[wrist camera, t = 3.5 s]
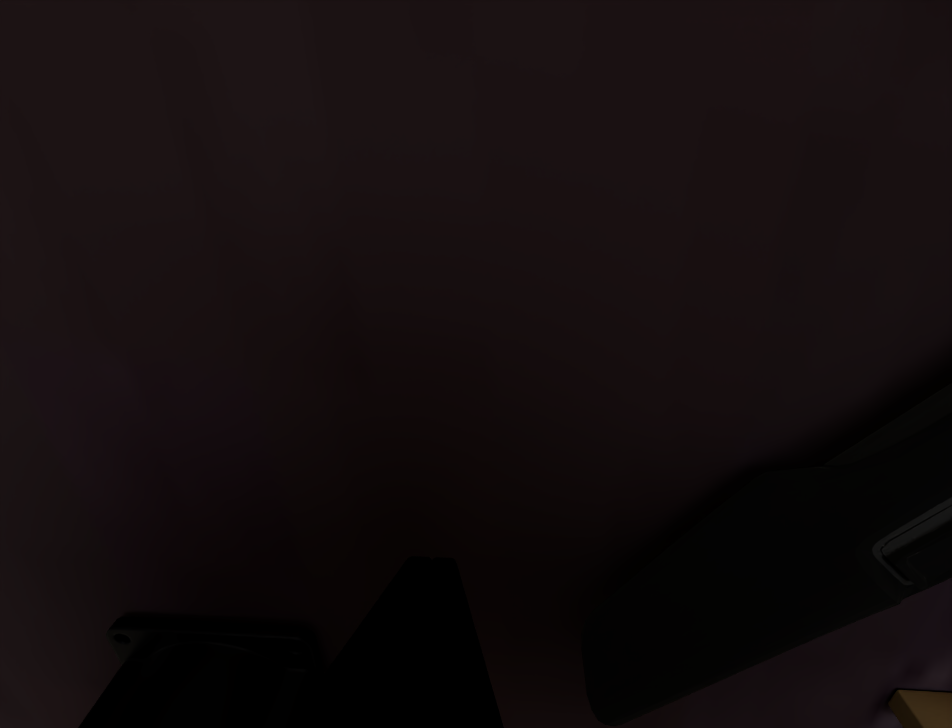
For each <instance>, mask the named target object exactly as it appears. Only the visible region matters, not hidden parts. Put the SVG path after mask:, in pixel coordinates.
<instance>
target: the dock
mask: <svg viewBox="0 0 952 728" xmlns="http://www.w3.org/2000/svg"><path fill="white" fill-rule="evenodd" d="M888 705H889V707H890V708H891V710H892V711H893V713H894V714H895V716H896V717H897V719H898V720H899V722H900V723H901V725H902V726H903V728H952V693H947V692H930V691H913V690H897V691H896V692H895V693H894V695H893V696H892V698H891V699H890V700H889V702H888Z"/></svg>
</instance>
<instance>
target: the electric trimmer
mask: <svg viewBox="0 0 952 728" xmlns="http://www.w3.org/2000/svg"><path fill="white" fill-rule="evenodd" d="M822 466H823V467H822ZM822 466H820V467H808V468H798V469H788V470H777V471H767V472H765V473H763V474H761V475H759V476H757V477H756V478H754V479H753V480H752V481H751V482H749V483H748V484H747V485H746V486H744V487H743V488H742V489H741V490H739V491H738V492H737V493H736V494H734V495H733V496H732V497H731V498H729V499H728V500H727V501H725V502H724V503H723V504H722V505H720V506H719V507H718V508H717V509H715V510H714V511H713V512H712V513H710V514H709V515H708V516H707V517H705V518H704V519H703V520H701V521H700V522H699V523H698V524H696V525H695V526H694V527H693V528H691V529H690V530H689V531H688V532H687V533H685V534H684V535H683V536H682V537H681V538H679V539H678V540H677V541H676V542H675V543H673V544H672V545H671V546H670V547H669V548H667V549H666V550H665V551H664V552H663V553H661V554H660V555H659V556H658V557H657V558H655V559H654V560H653V561H652V562H651V563H649V564H648V565H647V566H646V567H645V568H643V569H642V570H641V571H640V572H639V573H637V574H636V575H635V576H634V577H633V578H631V579H630V580H629V581H628V582H627V583H625V584H624V585H623V586H622V587H621V588H619V589H618V590H617V591H616V592H615V593H613V594H612V595H611V596H610V597H609V598H607V599H606V600H605V601H604V602H603V603H602V604H600V605H599V606H598V607H597V608H596V609H594V610H593V611H592V612H591V614H590V615H589V616H588V617H587V619H586V620H585V623H584V627H583V630H582V634H581V637H582V656H583V665H584V673H585V682H586V691H587V696H588V700H589V703H590V706H591V709H592V711H593V713H594V714H595V716H596V718H597V719H598V721H600V722H602V723H603V724H605V725H610V726H616V725H621V724H624V723H626V722H628V721H630V720H633V719H635V718H637V717H639V716H642V715H644V714H646V713H648V712H651V711H653V710H655V709H657V708H660V707H662V706H664V705H666V704H669V703H671V702H673V701H675V700H678V699H680V698H682V697H684V696H687V695H689V694H691V693H693V692H696V691H698V690H700V689H702V688H705V687H707V686H709V685H711V684H714V683H716V682H718V681H720V680H723V679H725V678H727V677H729V676H732V675H734V674H736V673H738V672H741V671H743V670H745V669H747V668H750V667H752V666H754V665H756V664H759V663H761V662H763V661H765V660H768V659H770V658H772V657H775V656H777V655H779V654H781V653H784V652H786V651H788V650H790V649H793V648H795V647H797V646H799V645H802V644H804V643H806V642H808V641H811V640H813V639H815V638H817V637H820V636H822V635H825V634H827V633H829V632H832V631H834V630H837V629H839V628H841V627H844V626H846V625H848V624H851V623H853V622H856V621H858V620H860V619H863V618H865V617H868V616H870V615H872V614H875V613H878V612H880V611H883V610H885V609H888V608H891V607H893V606H896V605H898V604H900V602H901V601H902V600H903V599H904V598H906V597H909V596H911V595H913V594H916V593H918V592H920V591H923V590H925V589H928V588H930V587H932V586H934V585H936V584H939V583H941V582H943V581H945V580H948V579H950V578H952V383H951V384H949V385H948V386H946V387H944V388H943V389H941V390H940V391H938V392H937V393H935V394H933V395H932V396H930V397H929V398H927V399H926V400H924V401H922V402H921V403H919V404H918V405H916V406H915V407H913V408H911V409H910V410H908V411H907V412H905V413H904V414H902V415H901V416H899V417H897V418H896V419H894V420H893V421H891V422H890V423H888V424H886V425H885V426H883V427H882V428H880V429H879V430H877V431H875V432H874V433H872V434H871V435H869V436H868V437H866V438H864V439H863V440H861V441H860V442H858V443H857V444H855V445H853V446H852V447H850V448H849V449H847V450H846V451H844V452H843V453H841V454H839V455H838V456H836V457H835V458H833V459H832V460H830V461H828V462H827V463H825V464H824V465H822Z"/></svg>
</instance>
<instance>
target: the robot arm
mask: <svg viewBox="0 0 952 728" xmlns="http://www.w3.org/2000/svg"><path fill="white" fill-rule="evenodd" d="M106 637H107V639H108V641H109V643H110V645H111V646H112V648H113V650H114V652H115V654H116V655H117V657H118V659H119V661H120V663H121V664H122V666H121V667H120V669H119V670H118V672H117V673H116V675H115V676H114V677H113V679H112V680H111V682H110V683H109V685H108V686H107V687H106V689H105V690H104V692H103V693H102V695H101V696H100V697H99V699H98V700H97V702H96V703H95V705H94V706H93V707H92V709H91V710H90V712H89V713H88V714H87V716H86V717H85V719H84V720H83V722H82V723H81V724H80V726H79V727H78V728H504V727H503V724H502V720H501V717H500V713H499V710H498V706H497V703H496V699H495V696H494V692H493V689H492V685H491V682H490V678H489V675H488V671H487V668H486V664H485V661H484V657H483V654H482V650H481V647H480V643H479V640H478V636H477V633H476V629H475V626H474V622H473V619H472V615H471V612H470V608H469V605H468V601H467V598H466V594H465V591H464V587H463V584H462V580H461V577H460V573H459V570H458V566H457V563H456V561H455V559H453V558H442V557H436V558H434V559H433V560H432V559H431V558H430V557H421V556H411V557H409V558H408V559H407V560H406V561H405V563H404V564H403V565H402V567H401V568H400V570H399V571H398V572H397V574H396V575H395V576H394V578H393V579H392V581H391V582H390V583H389V585H388V586H387V588H386V589H385V590H384V592H383V593H382V595H381V596H380V597H379V599H378V600H377V602H376V603H375V604H374V606H373V607H372V608H371V610H370V611H369V613H368V614H367V615H366V617H365V618H364V620H363V621H362V622H361V624H360V625H359V627H358V628H357V629H356V631H355V632H354V634H353V635H352V636H351V638H350V639H349V640H348V642H347V643H346V645H345V646H344V647H343V649H342V650H341V652H340V653H339V654H338V656H337V657H336V659H335V660H334V661H333V663H332V664H331V665H330V667H329V668H328V670H327V671H326V672H325V674H324V670H323V665H322V661H321V657H320V652H319V648H318V644H317V639H316V636H315V635H314V633H313V632H312V631H310V630H309V629H307V628H304V627H299V626H284V625H266V624H248V623H231V622H213V621H195V620H177V619H159V618H141V617H120V618H118V619H116V621H115V622H114V623H113V625H112V626H111V627H110V628H109V630H108V631H107V633H106Z"/></svg>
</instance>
